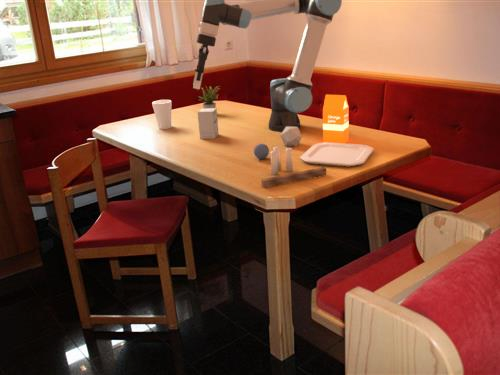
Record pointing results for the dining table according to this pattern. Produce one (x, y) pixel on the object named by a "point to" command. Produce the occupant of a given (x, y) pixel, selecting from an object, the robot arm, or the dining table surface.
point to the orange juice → (335, 119)
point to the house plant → (209, 98)
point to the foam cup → (163, 113)
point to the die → (291, 136)
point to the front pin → (278, 156)
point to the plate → (337, 154)
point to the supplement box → (208, 123)
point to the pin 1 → (274, 163)
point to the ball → (261, 151)
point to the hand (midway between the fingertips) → (196, 86)
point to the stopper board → (293, 177)
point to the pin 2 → (289, 160)
